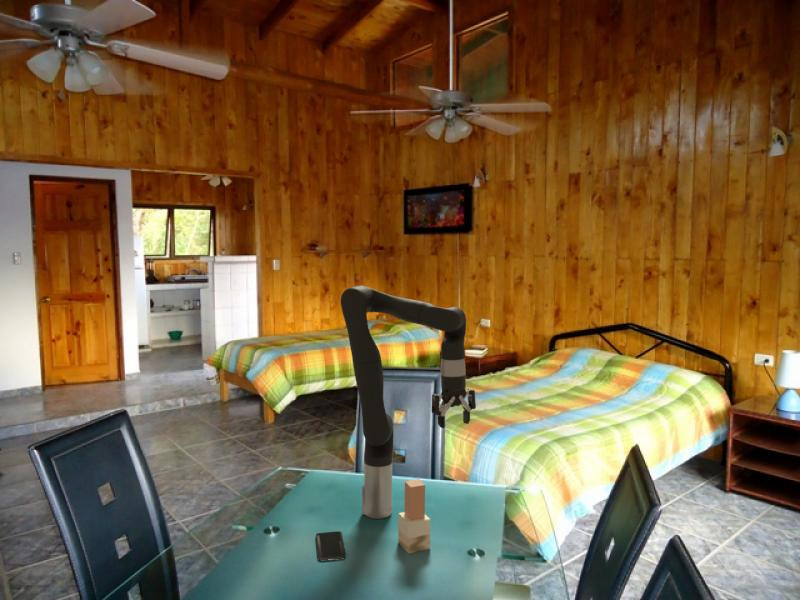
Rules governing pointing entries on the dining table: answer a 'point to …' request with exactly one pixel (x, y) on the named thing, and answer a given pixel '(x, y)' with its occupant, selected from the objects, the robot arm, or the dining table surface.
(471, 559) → the dining table surface
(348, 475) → the dining table surface
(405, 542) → the tower base
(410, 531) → the tower top
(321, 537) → the phone
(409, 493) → the stack block
